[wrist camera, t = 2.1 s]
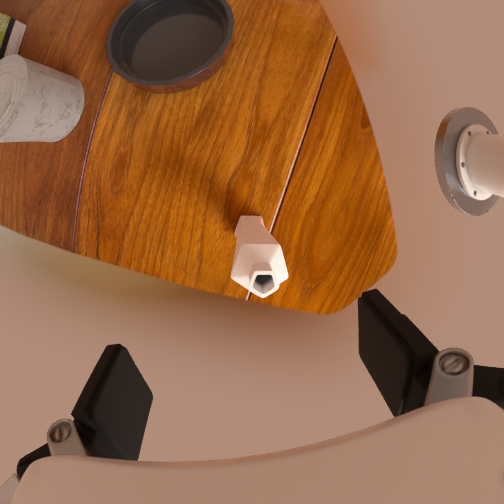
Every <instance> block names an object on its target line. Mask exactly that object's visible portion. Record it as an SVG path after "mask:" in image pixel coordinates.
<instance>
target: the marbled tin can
mask: <svg viewBox="0 0 504 504" xmlns="http://www.w3.org/2000/svg"><path fill="white" fill-rule="evenodd" d="M84 98H85V95H84V89H83V87H82V84H81V82H80V81H79V80H78V79H77V78H75V77H74V76H71V75H67V74H65V73H63V72H60V71H58V70H55V69H53V68H50V67H48V66H45V65H42V64H40V63H37V62H35V61H32V60H29V59H26V58H23V57H22V56H20V55H17V54H12V55H9V56H6V57H4V58H3V59H1V60H0V142H27V141H45V142H55V141H59V140H61V139H62V138H64V137H65V136H67V135H68V134H69V133H70V132H71V131H72V130H73V128H74V127H75V126H76V124H77V122H78V121H79V119H80V116H81V114H82V111H83V107H84Z"/></svg>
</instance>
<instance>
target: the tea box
mask: <svg viewBox="0 0 504 504" xmlns="http://www.w3.org/2000/svg"><path fill="white" fill-rule="evenodd" d="M25 30H26V25H24V24H23V23H21V22H19V21H17V20H16V19H14V18H12V17H10V16H8V15H6V14H3V13H1V12H0V60H1V59H3V58H4V57H6V56H9V55H12V54H17V55H18V51H19V47H20V44H21V41H22V38H23V35H24V32H25Z"/></svg>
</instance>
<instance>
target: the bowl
mask: <svg viewBox="0 0 504 504" xmlns="http://www.w3.org/2000/svg"><path fill="white" fill-rule="evenodd" d="M234 22H235V21H234V17H233V13H232V10H231V7H230V5H229V4H228V3H227V1H226V0H132V1H131V2H130V3H129V4H128V5H127V6H126V7H125V8H124V9H123V10H122V11H121V12H120V13H119V14H118V16H117V17H116V19H115V20H114V22H113V24H112V25H111V27H110V29H109V33H108V37H107V41H106V50H107V58H108V61H109V63H110V64H111V66H112V68H113V69H114V71H115V72H116V73H117V74H119V75H120V76H121V77H123V78H124V79H126V80H127V81H129V82H130V83H132V84H133V85H134V86H136V87H137V88H139V89H141V90H145V91H149V92H152V93H156V94H157V93H176V92H179V91H183V90H186V89H190V88H193V87H195V86H197V85H199V84H200V83H202V82H204V81H205V80H207V79H209V78H210V77H212V76H213V75H214V74H215V73H216V72H217V71H218V70H219V69H220V68H221V67H222V66H223V65H224V64H225V62H226V60H227V58H228V56H229V54H230V52H231V50H232V47H233V40H234Z"/></svg>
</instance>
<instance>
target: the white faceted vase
mask: <svg viewBox="0 0 504 504" xmlns="http://www.w3.org/2000/svg"><path fill="white" fill-rule="evenodd" d="M234 235H235V236H236V237H237V243H236V249H235V254H234V260H233V266H232V271H231V278H232V279H233V280H234V281H236V282H237V283H239V284H240V285H242V286H243V287H245V288H246V289H248V290H249V291H251V292H252V293H254V294H255V295H257V296H260V297H262V298H265V297H267V296H268V295H270V294H271V293H273V292H275V291H276V290H277V289H278V288H279V284H280V283H281V282H283V281H284V280H286V279H287V278H288V272H287V268H286V264H285V260H284V256H283V253H282V249H281V246H280V245H279V244H278V242H277V241H276V240H275V239H274V238H273V236H272V235H271V234H270V233H269V232H268V230H267V229H266V228H265V226H264V222H263V219H262V217H261V216H240V219H239V221H238V224H237V227H236V230H235V233H234Z"/></svg>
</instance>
